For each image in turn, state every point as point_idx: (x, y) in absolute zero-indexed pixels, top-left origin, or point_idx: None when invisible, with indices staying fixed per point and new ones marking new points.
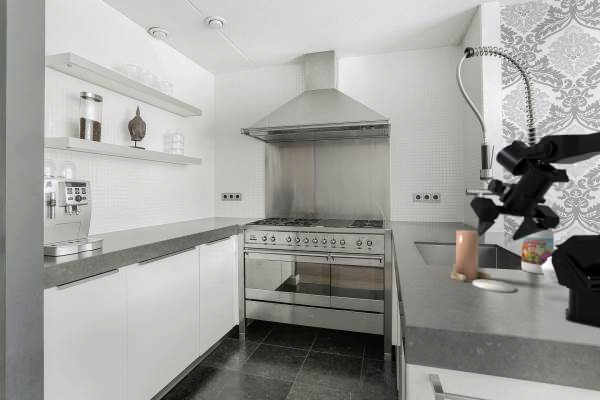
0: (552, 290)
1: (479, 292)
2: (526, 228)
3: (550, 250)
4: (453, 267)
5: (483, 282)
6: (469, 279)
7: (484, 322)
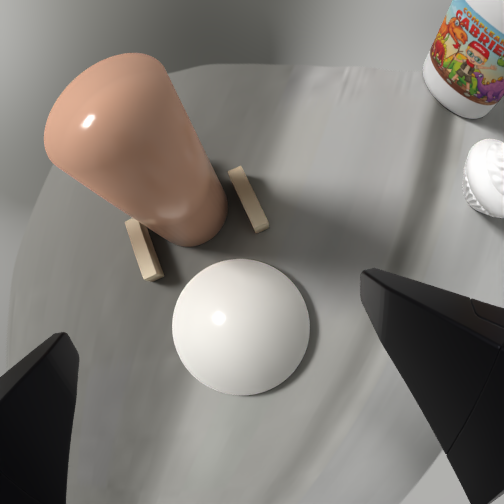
0: None
1: (167, 405)
2: (454, 413)
3: None
4: None
5: (212, 308)
6: (187, 245)
7: None
